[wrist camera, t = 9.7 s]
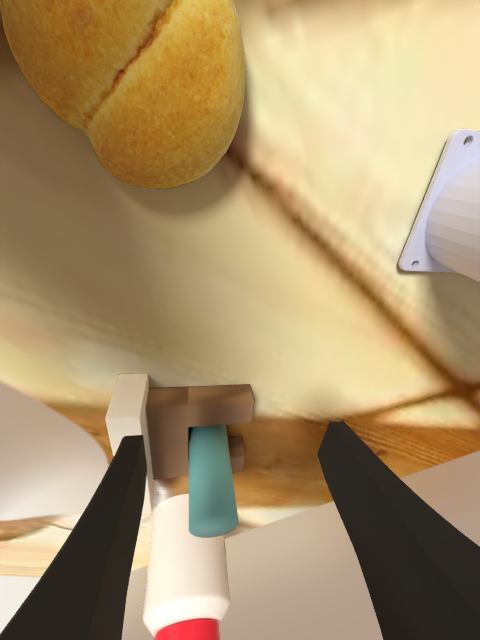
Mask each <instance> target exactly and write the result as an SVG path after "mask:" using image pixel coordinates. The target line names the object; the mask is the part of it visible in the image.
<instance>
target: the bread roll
mask: <svg viewBox="0 0 480 640" xmlns="http://www.w3.org/2000/svg"><path fill="white" fill-rule="evenodd" d="M0 9H1V15H2V21H3V27H4V31H5V34H6V38H7V41H8V43H9V46H10V49H11V51H12V54H13V56H14V58H15V60H16V61H17V64H18V66H19V68H20V69H21V71H22V73H23V74H24V76H25V78H26V79H27V81H28V82H29V84H30V86H31V87H32V88H33V89H34V91H35V92H36V93H37V95H38V96H39V97H40V98H41V100H42V101H43V102H44V103H45V104H46V105H47V106H48V107H49V108H50V109H51V110H52V111H53V112H54V113H56V114H57V115H58V116H59V117H60V118H61V119H62V120H64V121H66V122H67V123H69V124H70V125H72V126H73V127H75V128H77V129H79V130H81V131H82V132H84V133H85V134H86V135H87V136H88V137H89V138H90V140H91V144H92V147H93V149H94V151H95V153H96V155H97V157H98V159H99V160H100V161H101V163H102V164H103V166H104V167H105V168H107V169H108V170H109V171H110V172H111V173H112V174H113V175H114V176H115V177H117V178H118V179H120V180H122V181H124V182H126V183H129V184H132V185H135V186H141V187H148V188H171V187H175V186H179V185H183V184H186V183H189V182H192V181H194V180H197V179H199V178H201V177H202V176H204V175H205V174H206V173H208V172H209V171H210V170H211V169H212V168H213V167H214V166H215V165H216V164H217V163H218V162H219V160H220V159H221V158H222V157H223V155H224V154H225V153H226V152H227V150H228V148H229V146H230V144H231V142H232V140H233V138H234V136H235V133H236V130H237V128H238V124H239V121H240V117H241V113H242V108H243V103H244V95H245V81H246V64H245V55H244V48H243V42H242V30H241V24H240V21H239V18H238V14H237V11H236V8H235V5H234V2H233V0H0Z"/></svg>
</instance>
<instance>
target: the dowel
mask: <svg viewBox="0 0 480 640" xmlns="http://www.w3.org/2000/svg"><path fill="white" fill-rule="evenodd" d="M237 525H238V515H237V508H236V500H235V492H234V484H233V477H232V469H231V461H230V454H229V446H228V438H227V430H226V425H212V426H197V427H189V532H190V533H191V534H192V535H194V536H196V537H201V538H211V537H217V536H221V535H224V534H226V533H229V532H230V531H232V530H233V529H234V528H235V527H236V526H237Z"/></svg>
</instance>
